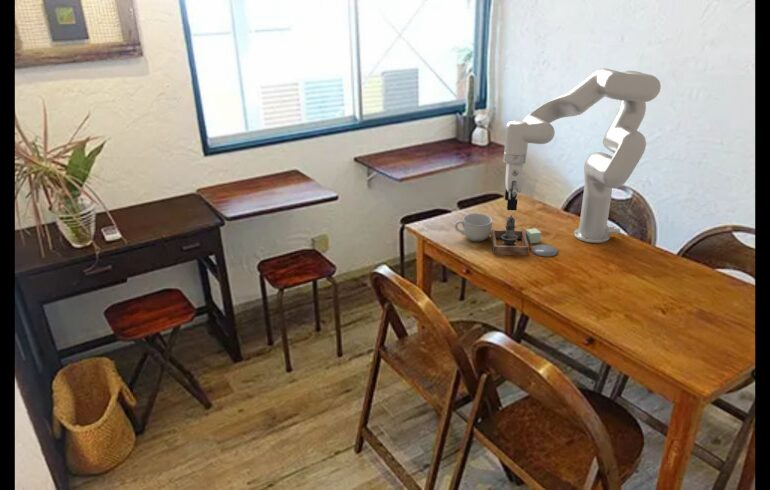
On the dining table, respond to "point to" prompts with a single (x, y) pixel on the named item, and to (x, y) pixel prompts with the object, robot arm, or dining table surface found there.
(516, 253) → the walnut corral
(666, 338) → the dining table surface
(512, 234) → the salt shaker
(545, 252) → the slate coaster
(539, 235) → the sage block
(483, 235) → the teacup
